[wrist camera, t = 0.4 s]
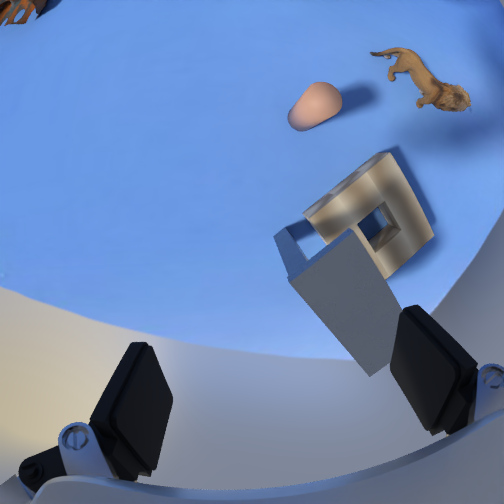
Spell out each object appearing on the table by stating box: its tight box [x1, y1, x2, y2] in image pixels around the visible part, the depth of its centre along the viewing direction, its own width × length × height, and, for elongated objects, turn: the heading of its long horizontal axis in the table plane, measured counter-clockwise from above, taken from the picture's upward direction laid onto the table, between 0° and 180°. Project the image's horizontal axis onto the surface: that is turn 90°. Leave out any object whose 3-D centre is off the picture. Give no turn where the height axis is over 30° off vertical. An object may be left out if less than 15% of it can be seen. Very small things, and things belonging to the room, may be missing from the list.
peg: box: [288, 82, 342, 131], centre depth 27 cm, size 4×4×11 cm
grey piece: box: [273, 228, 402, 377], centre depth 30 cm, size 6×15×16 cm, turn 40°
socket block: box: [302, 152, 434, 280], centre depth 34 cm, size 14×14×4 cm
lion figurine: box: [370, 48, 471, 112], centre depth 26 cm, size 15×5×9 cm, turn 63°
